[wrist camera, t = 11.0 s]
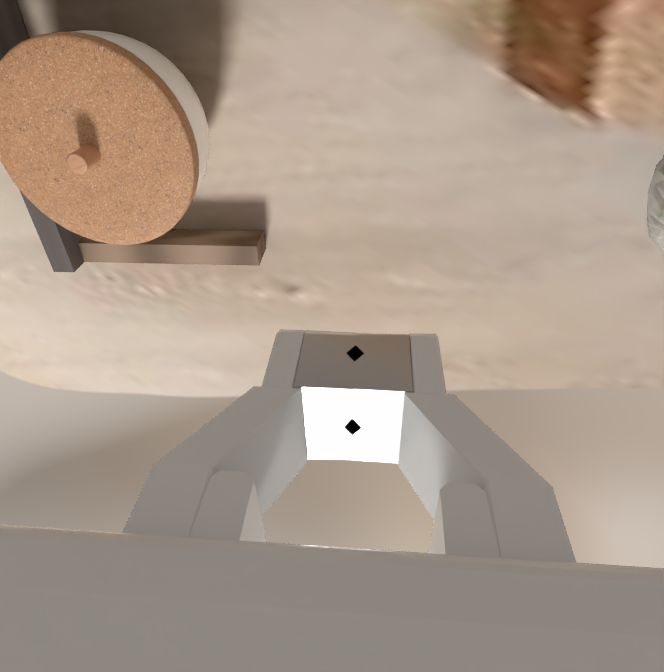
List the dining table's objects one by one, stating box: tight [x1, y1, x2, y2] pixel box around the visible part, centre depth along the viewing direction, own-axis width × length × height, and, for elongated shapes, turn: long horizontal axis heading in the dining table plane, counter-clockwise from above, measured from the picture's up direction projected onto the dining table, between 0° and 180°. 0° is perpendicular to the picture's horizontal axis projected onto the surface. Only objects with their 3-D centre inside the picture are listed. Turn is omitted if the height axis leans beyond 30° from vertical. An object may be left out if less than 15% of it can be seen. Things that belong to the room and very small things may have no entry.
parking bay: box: [0, 0, 266, 272], centre depth 30 cm, size 14×19×4 cm
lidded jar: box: [0, 30, 210, 245], centre depth 28 cm, size 11×11×9 cm
